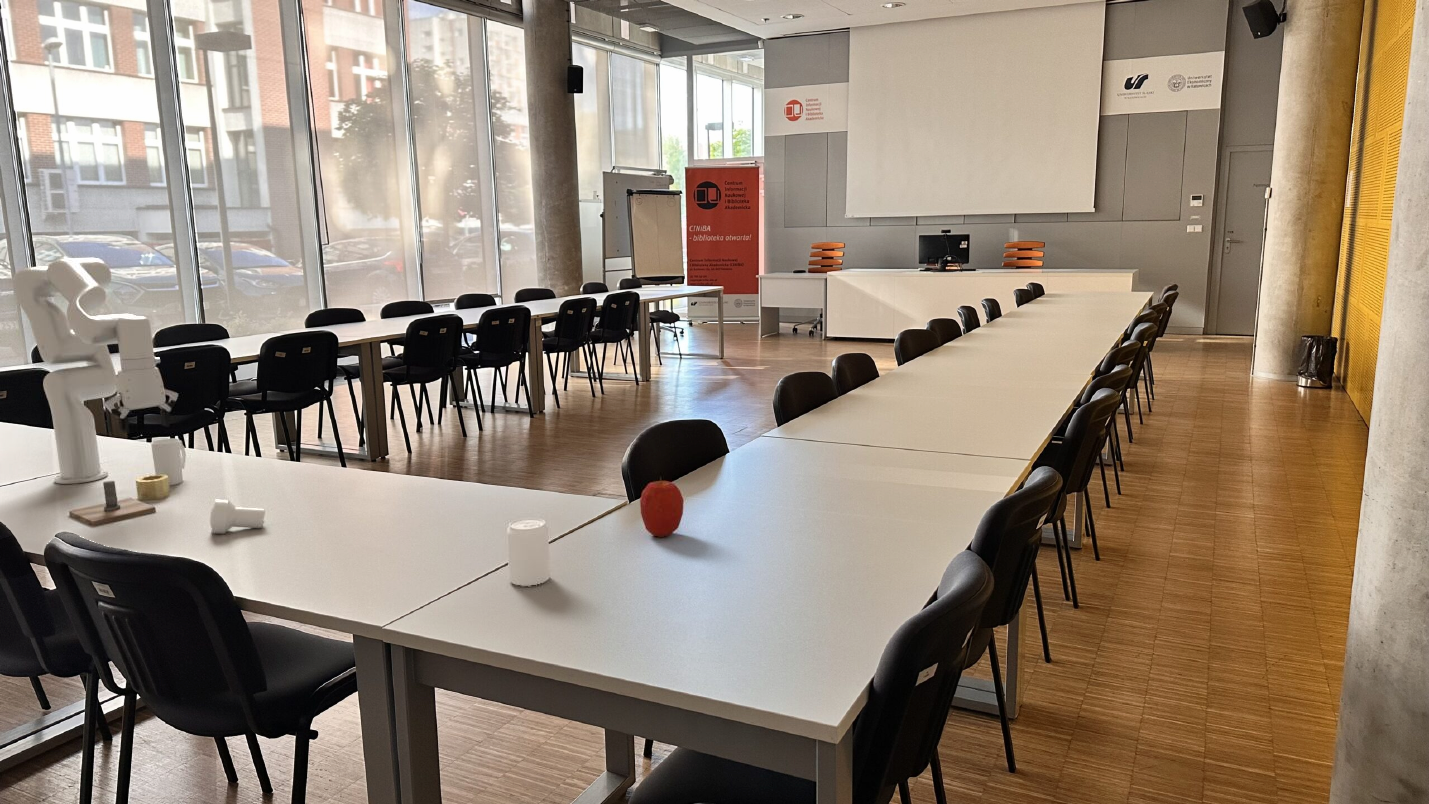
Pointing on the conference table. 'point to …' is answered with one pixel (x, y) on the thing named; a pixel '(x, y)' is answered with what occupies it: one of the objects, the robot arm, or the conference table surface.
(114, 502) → the post block
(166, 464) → the mug
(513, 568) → the beverage can
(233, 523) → the spotlight
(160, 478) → the ring
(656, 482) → the apple
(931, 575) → the conference table surface
